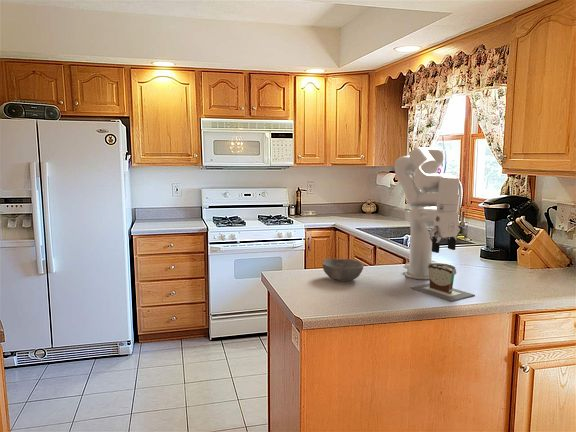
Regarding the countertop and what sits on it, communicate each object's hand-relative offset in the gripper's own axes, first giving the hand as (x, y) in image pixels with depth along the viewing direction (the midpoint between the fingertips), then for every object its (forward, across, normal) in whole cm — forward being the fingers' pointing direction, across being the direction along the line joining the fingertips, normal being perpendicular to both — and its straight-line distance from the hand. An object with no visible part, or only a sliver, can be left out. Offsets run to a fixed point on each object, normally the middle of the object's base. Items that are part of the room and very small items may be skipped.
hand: (443, 250), depth 183 cm
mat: (+17, -1, -1) cm, 17 cm away
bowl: (+18, -24, +33) cm, 44 cm away
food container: (+16, +1, -1) cm, 16 cm away
